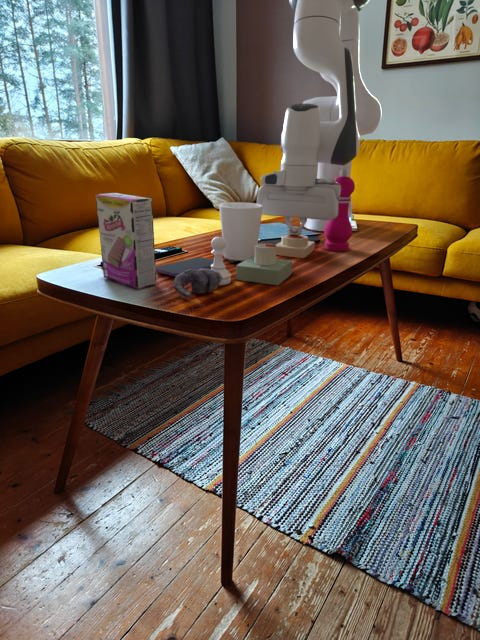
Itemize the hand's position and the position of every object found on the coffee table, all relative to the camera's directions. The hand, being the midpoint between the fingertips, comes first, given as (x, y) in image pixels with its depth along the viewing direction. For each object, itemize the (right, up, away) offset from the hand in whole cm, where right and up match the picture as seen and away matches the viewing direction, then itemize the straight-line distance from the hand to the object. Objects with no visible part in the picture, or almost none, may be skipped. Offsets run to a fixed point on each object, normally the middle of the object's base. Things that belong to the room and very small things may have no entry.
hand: (294, 235), depth 113 cm
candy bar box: (-36, -14, -24) cm, 45 cm away
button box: (0, -4, +2) cm, 4 cm away
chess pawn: (-18, -14, -24) cm, 33 cm away
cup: (-14, -7, -7) cm, 17 cm away
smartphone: (-25, -10, -15) cm, 31 cm away
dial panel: (-9, -12, -20) cm, 25 cm away
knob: (-9, -10, -21) cm, 24 cm away
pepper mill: (+12, -3, +6) cm, 14 cm away
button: (0, -2, +1) cm, 2 cm away
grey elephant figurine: (-21, -17, -30) cm, 41 cm away
